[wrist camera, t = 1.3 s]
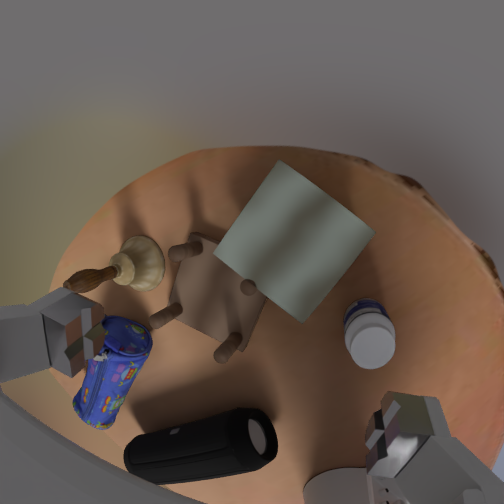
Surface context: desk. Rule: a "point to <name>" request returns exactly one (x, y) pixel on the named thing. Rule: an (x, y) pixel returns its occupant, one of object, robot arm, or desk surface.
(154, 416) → the desk surface
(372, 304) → the pill bottle
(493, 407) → the desk surface
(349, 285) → the desk surface
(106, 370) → the pencil case
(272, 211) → the small table
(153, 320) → the upturned stool
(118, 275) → the hand bell
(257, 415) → the portable speaker
